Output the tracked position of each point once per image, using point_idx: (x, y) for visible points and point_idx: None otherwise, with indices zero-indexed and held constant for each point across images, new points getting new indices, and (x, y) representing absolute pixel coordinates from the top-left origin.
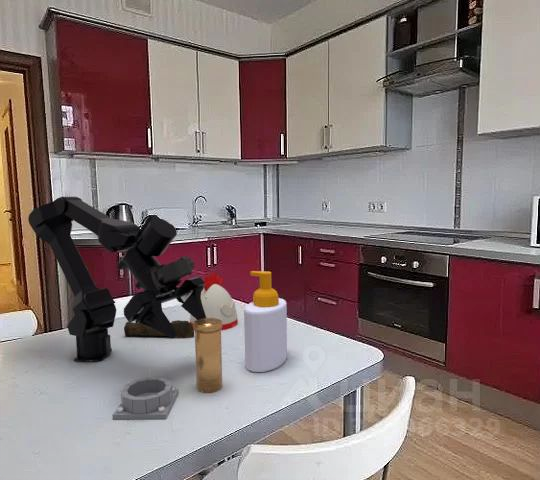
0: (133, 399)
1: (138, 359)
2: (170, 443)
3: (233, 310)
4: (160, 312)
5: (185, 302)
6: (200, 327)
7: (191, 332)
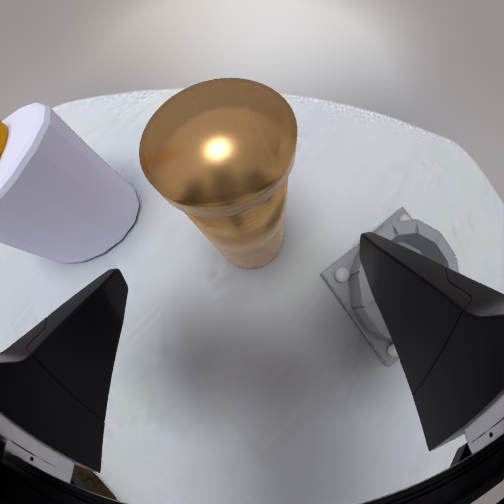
0: (454, 254)
1: (243, 498)
2: (421, 155)
3: None
4: (485, 305)
5: (73, 451)
6: (291, 115)
7: (77, 467)
